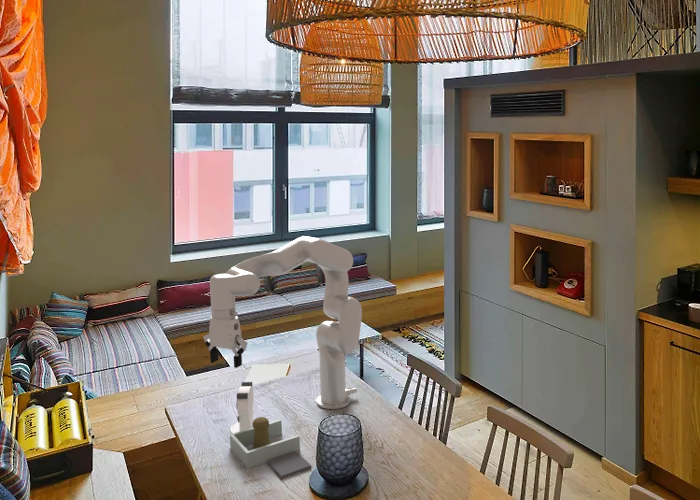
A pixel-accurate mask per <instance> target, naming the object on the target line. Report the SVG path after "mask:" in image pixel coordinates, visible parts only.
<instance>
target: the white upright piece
mask: <svg viewBox="0 0 700 500" xmlns="http://www.w3.org/2000/svg"><path fill="white" fill-rule="evenodd" d="M253 389H254V388H253V381H242V382H241V385H240V387H239V388H238V392H236V410H237V422H236V423H234V424H233V425H231V426H230V428H229V429H230V434H233V433H237V432H240V431H243V430H247V429H250V428H253V421H254V390H253Z"/></svg>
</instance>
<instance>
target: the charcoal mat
mask: <svg viewBox="0 0 700 500" xmlns="http://www.w3.org/2000/svg"><path fill="white" fill-rule="evenodd" d="M266 464H267V465H268V467H270V469H271V470H272V471H273V472H274V473H275V474H276V475H277V476H278V478H280V479H281V480H283V479H285V478H288V477H291V476H293V475H297V474H299V473H302V472H305V471H308V470H311V469H312V465H311V464H310V463H309V461H307V460H306V459H305V458H304V457H303V456H302V455H301V454H300V453H299V452H296V451H295V452H292V453H289V454H286V455H283V456H280V457H277V458H274V459H271V460H268V461H267V462H266Z"/></svg>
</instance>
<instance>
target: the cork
mask: <svg viewBox="0 0 700 500" xmlns="http://www.w3.org/2000/svg"><path fill="white" fill-rule="evenodd" d="M253 420H254V421H253V428H254V430H255V431H254V443H253V444H252V445H253V446H252V450H253V449H256V448H259V447H262V446H265V445H269V444H271V438H269V433H268V427H269V423H270V421H269V419H268V418H267V417H265V416H259V417H258V416H257V417H256V418H255V419H254V418H253Z"/></svg>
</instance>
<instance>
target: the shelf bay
mask: <svg viewBox="0 0 700 500" xmlns="http://www.w3.org/2000/svg"><path fill="white" fill-rule="evenodd" d="M254 431H255V430H254V428H250V429H247V430H243V431H240V432H237V433H233V434H232V433H230V434H229V445H230V450H231V451H232V452H233V453H234V455H235V456H236V457H237V458H238V459H239V460H240V461H241V463H242V464H243V465H244V466H245V467H246V468H247V469H251V468H253V467H256V466H259V465H262V464H265V463H267V461H268V460H271V459H274V458H277V457H280V456H283V455H286V454H289V453H292V452H295V451H296V452H297V453H299V452H300V451H301V439H300V437H301V436H300V435H298V434H297V435H294V436H292V437H288V438H284V439H281V440H278V441H276V442H272V443H270V444H269V445H265V446H262V447H259V448H256V449H253V448H252V449H251V450H248V448H247V447H246V446H249V445H253V443H254ZM268 433H269V438H270V439H271V438H275V437H278V436H282V435H283V426H282V419H277V420H274V421H269V427H268Z"/></svg>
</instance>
